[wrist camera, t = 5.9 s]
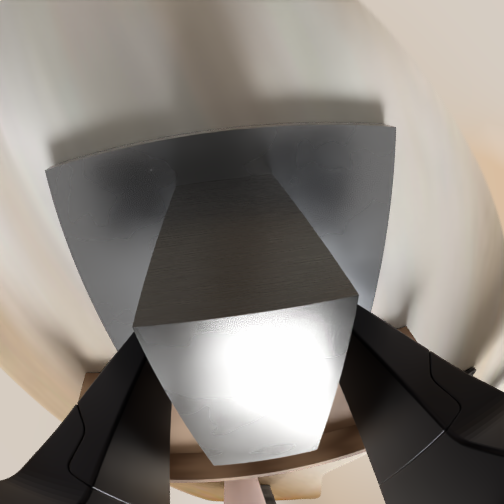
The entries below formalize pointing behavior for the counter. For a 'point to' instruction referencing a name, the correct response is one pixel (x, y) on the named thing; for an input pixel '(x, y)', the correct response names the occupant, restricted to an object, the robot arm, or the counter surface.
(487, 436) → the robot arm
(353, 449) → the walnut box
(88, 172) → the cover plate
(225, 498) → the smoothie
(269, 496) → the beverage cup
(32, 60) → the counter surface
